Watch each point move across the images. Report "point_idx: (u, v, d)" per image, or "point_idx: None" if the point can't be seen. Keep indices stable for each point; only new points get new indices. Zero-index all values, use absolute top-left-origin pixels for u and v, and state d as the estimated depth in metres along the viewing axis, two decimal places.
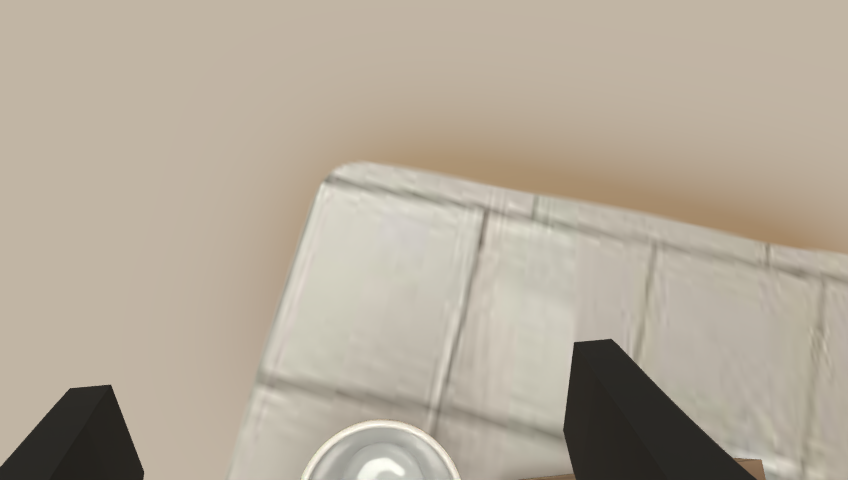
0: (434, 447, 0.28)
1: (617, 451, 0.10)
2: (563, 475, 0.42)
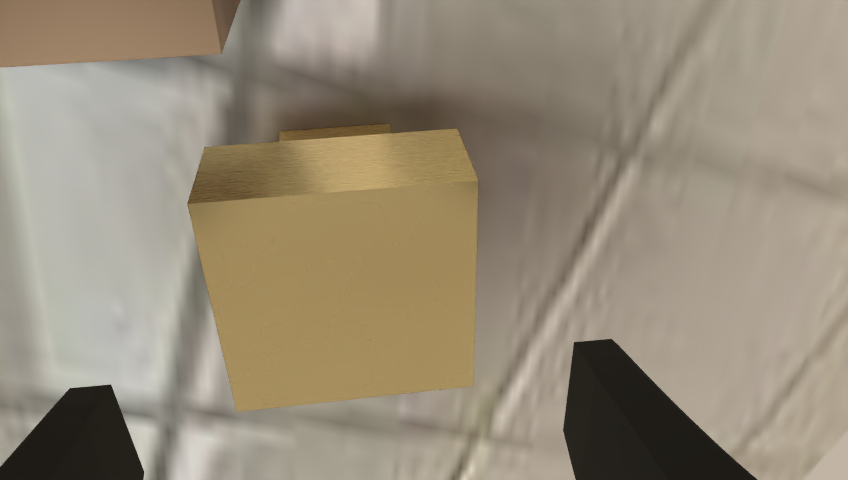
0: None
1: (617, 450, 0.10)
2: None
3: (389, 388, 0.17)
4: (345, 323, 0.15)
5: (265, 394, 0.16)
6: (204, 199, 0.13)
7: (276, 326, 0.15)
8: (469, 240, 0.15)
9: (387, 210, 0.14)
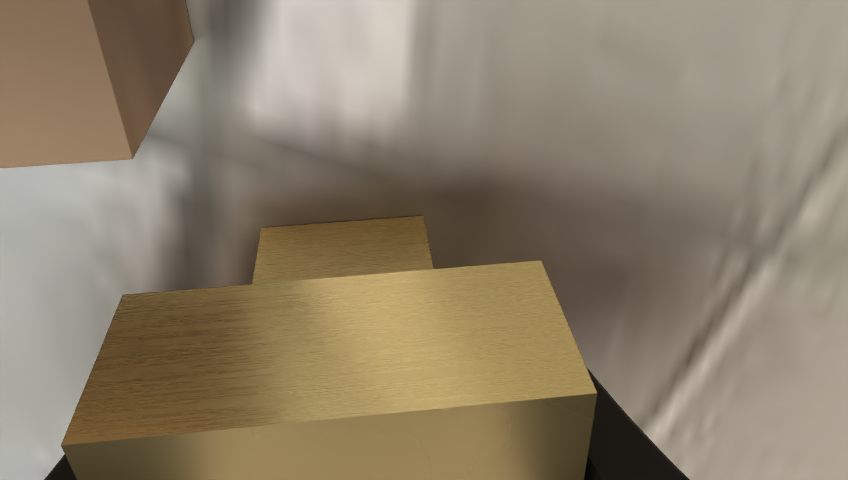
0: None
1: None
2: None
3: None
4: None
5: None
6: (94, 433, 0.07)
7: None
8: (572, 477, 0.08)
9: (429, 442, 0.08)
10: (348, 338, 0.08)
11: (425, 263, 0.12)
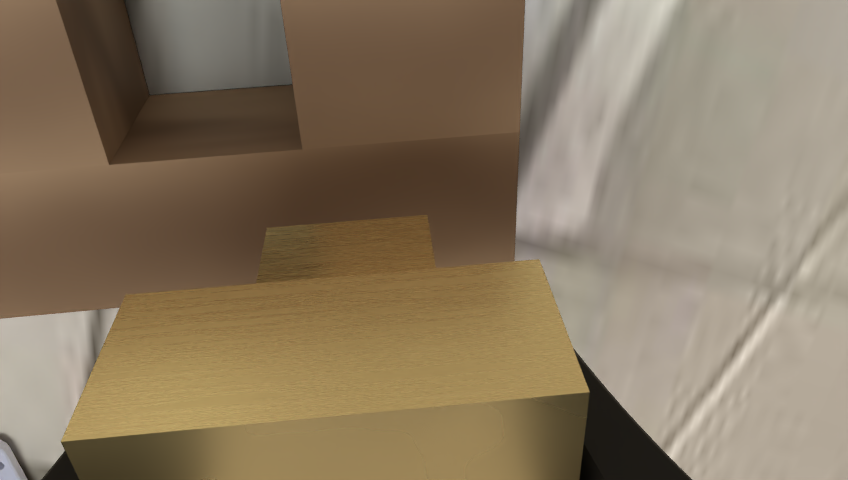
0: None
1: None
2: None
3: None
4: None
5: None
6: (93, 430, 0.07)
7: None
8: (567, 476, 0.08)
9: (423, 439, 0.08)
10: (344, 337, 0.08)
11: (427, 262, 0.12)
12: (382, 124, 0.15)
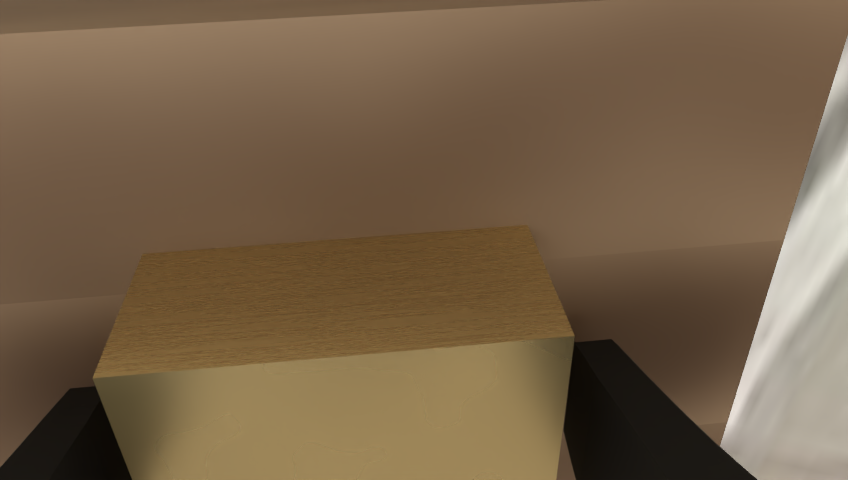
0: None
1: (616, 450, 0.10)
2: None
3: None
4: None
5: None
6: (122, 368, 0.08)
7: None
8: (553, 418, 0.09)
9: (424, 380, 0.09)
10: (350, 290, 0.09)
11: None
12: None
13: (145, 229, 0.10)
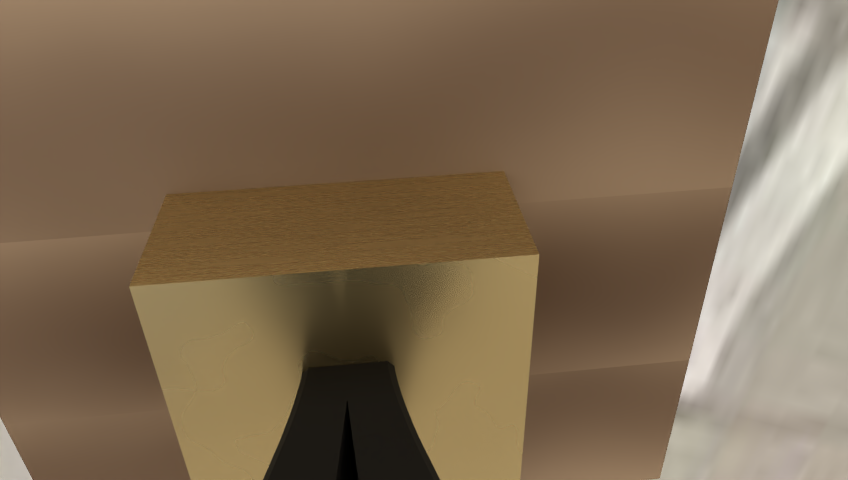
0: None
1: (357, 477, 0.09)
2: None
3: None
4: None
5: None
6: (154, 279, 0.10)
7: (258, 438, 0.11)
8: (523, 331, 0.11)
9: (411, 293, 0.10)
10: (347, 221, 0.11)
11: None
12: (547, 357, 0.14)
13: (169, 172, 0.11)
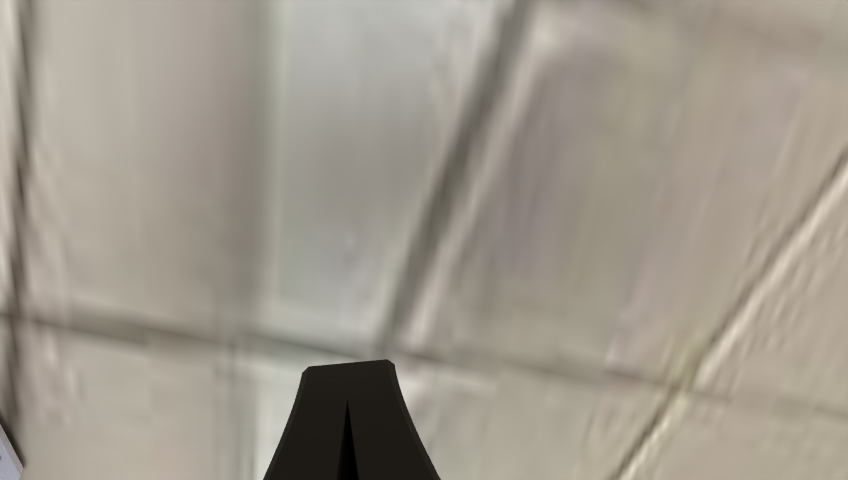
0: None
1: None
2: None
3: None
4: None
5: None
6: None
7: None
8: None
9: None
10: None
11: None
12: None
13: None
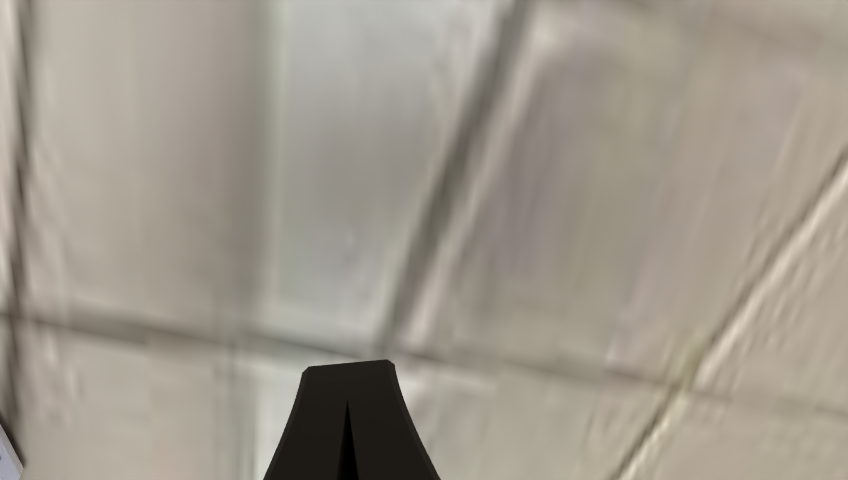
0: None
1: None
2: None
3: None
4: None
5: None
6: None
7: None
8: None
9: None
10: None
11: None
12: None
13: None
